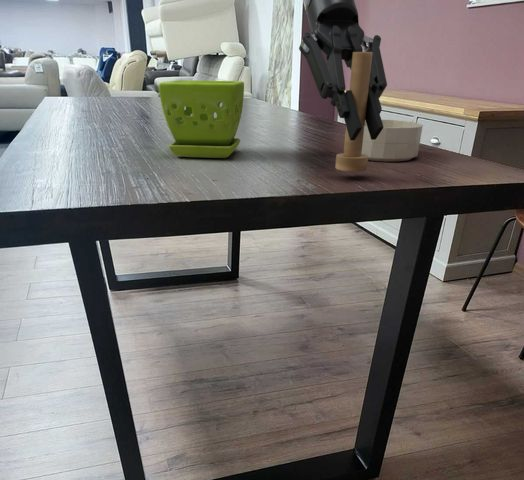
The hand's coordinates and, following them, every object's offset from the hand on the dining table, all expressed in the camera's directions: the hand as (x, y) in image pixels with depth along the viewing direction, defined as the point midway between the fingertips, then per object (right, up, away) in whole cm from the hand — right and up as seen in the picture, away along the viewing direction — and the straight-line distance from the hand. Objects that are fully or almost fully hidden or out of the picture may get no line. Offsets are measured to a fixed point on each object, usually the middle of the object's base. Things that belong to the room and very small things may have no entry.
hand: (366, 133), depth 73 cm
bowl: (+8, +7, +26) cm, 28 cm away
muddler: (-1, -3, +6) cm, 7 cm away
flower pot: (-27, +6, +23) cm, 36 cm away
